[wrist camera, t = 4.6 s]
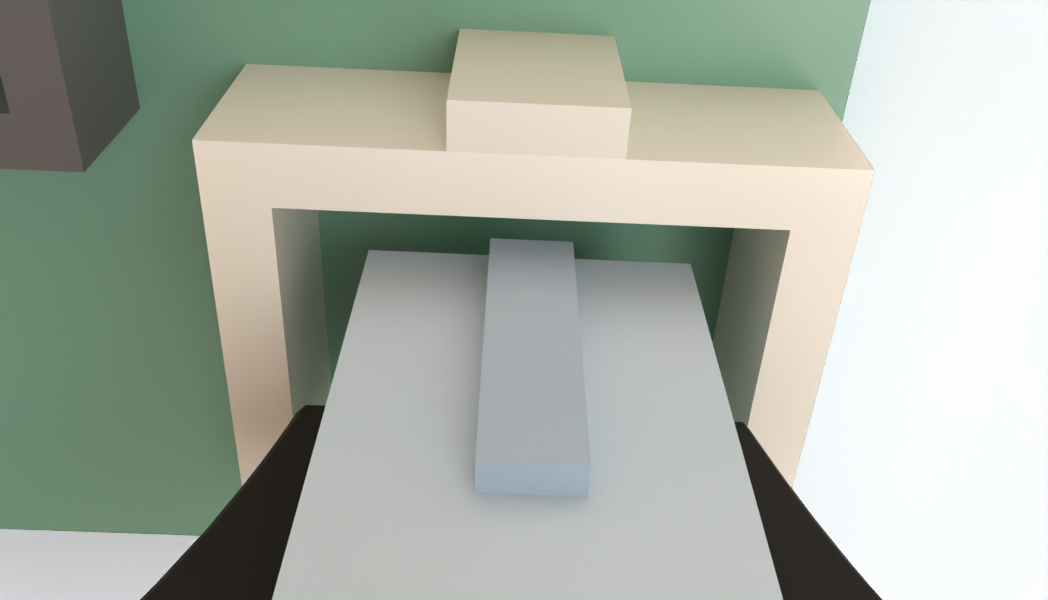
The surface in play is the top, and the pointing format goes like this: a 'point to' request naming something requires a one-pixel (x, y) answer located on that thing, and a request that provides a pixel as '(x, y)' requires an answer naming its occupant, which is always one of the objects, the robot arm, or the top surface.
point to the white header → (527, 202)
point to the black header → (62, 82)
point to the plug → (526, 439)
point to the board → (345, 236)
